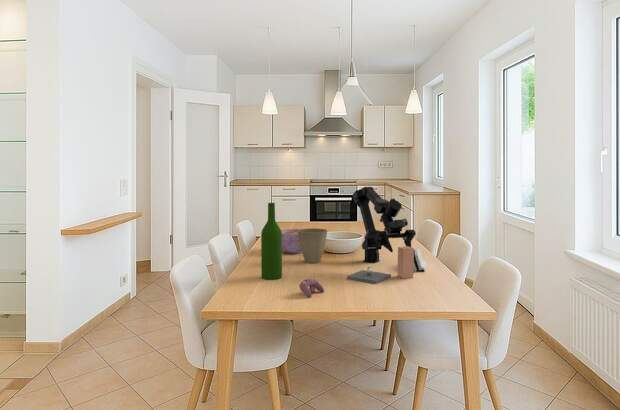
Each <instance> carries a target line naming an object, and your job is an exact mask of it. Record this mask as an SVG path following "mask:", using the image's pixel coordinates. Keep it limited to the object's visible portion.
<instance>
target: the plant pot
mask: <svg viewBox="0 0 620 410" xmlns="http://www.w3.org/2000/svg"><path fill="white" fill-rule="evenodd" d="M299 229H300V230H298V237H299V243H300V247H301V253H302V256H303V259H304V262H305V263H307V264H317V263H320V262H321V259H322V257H323V255H324V251H325V246H326V242H327V235H328V229H324V228H315V227H314V228H311V227H310V228H302V229H301V228H299Z"/></svg>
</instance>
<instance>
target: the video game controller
mask: <svg viewBox="0 0 620 410" xmlns="http://www.w3.org/2000/svg"><path fill="white" fill-rule="evenodd" d="M298 287H299V289H300V291H301V292H302V293H303V294H304V295H305V296H306V297H307V298H312V293H315V292H316V291H318V292H320V293H324V292H325V289H324V287H323V285H322V284H320V282H319V281H318V280H317V279H316V278H315V277H314V278H310V277H309V278H306V279H304V280H302V281H301V282H300V283H299V286H298Z"/></svg>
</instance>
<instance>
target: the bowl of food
mask: <svg viewBox="0 0 620 410" xmlns="http://www.w3.org/2000/svg"><path fill="white" fill-rule="evenodd" d="M300 229H301V228H288V229H287V228H286V229H285V228H284V229H281V232H282V251H284V252H286V253H287V254H291V255H292V254H294V255H296V254H301V253H302V251H301V247H300V243H299V237H298V230H300Z"/></svg>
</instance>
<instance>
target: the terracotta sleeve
mask: <svg viewBox="0 0 620 410" xmlns="http://www.w3.org/2000/svg"><path fill="white" fill-rule="evenodd" d="M414 250H415V248H414V247H412V246H411V247H409V246H406V245H404V246H397V274H396V275H397V277H399V278H401V279H413V278H414V269H413V267H414Z"/></svg>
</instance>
